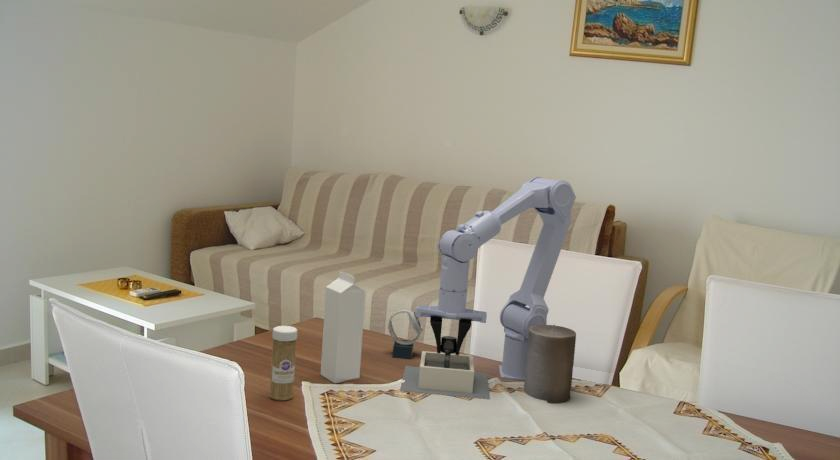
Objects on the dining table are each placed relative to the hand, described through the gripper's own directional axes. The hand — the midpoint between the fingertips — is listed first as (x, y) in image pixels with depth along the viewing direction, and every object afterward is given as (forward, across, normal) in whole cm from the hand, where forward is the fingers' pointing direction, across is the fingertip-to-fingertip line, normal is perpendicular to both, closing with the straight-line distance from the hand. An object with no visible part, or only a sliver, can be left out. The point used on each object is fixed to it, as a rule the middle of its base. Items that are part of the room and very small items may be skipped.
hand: (447, 352), depth 153 cm
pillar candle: (+7, +21, -1) cm, 22 cm away
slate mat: (+7, 0, 0) cm, 7 cm away
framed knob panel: (+6, 0, 0) cm, 6 cm away
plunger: (+5, 0, 0) cm, 5 cm away
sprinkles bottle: (+7, -31, -16) cm, 36 cm away
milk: (+7, -22, -2) cm, 23 cm away
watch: (+7, -10, +16) cm, 20 cm away
